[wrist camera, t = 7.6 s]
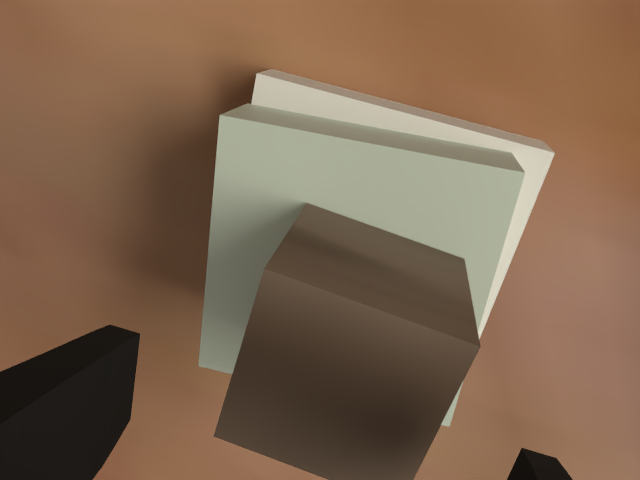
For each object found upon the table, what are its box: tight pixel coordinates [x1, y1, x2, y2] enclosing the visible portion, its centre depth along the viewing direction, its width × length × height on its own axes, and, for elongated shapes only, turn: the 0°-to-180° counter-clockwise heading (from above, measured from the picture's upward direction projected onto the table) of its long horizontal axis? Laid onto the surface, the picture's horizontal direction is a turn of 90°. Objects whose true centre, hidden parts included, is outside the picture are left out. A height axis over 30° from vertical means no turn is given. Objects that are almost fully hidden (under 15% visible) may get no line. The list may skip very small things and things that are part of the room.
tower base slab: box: [251, 69, 555, 339], centre depth 19 cm, size 9×9×2 cm
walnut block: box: [214, 203, 480, 480], centre depth 14 cm, size 4×4×4 cm
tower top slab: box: [199, 103, 525, 427], centre depth 17 cm, size 8×8×2 cm
